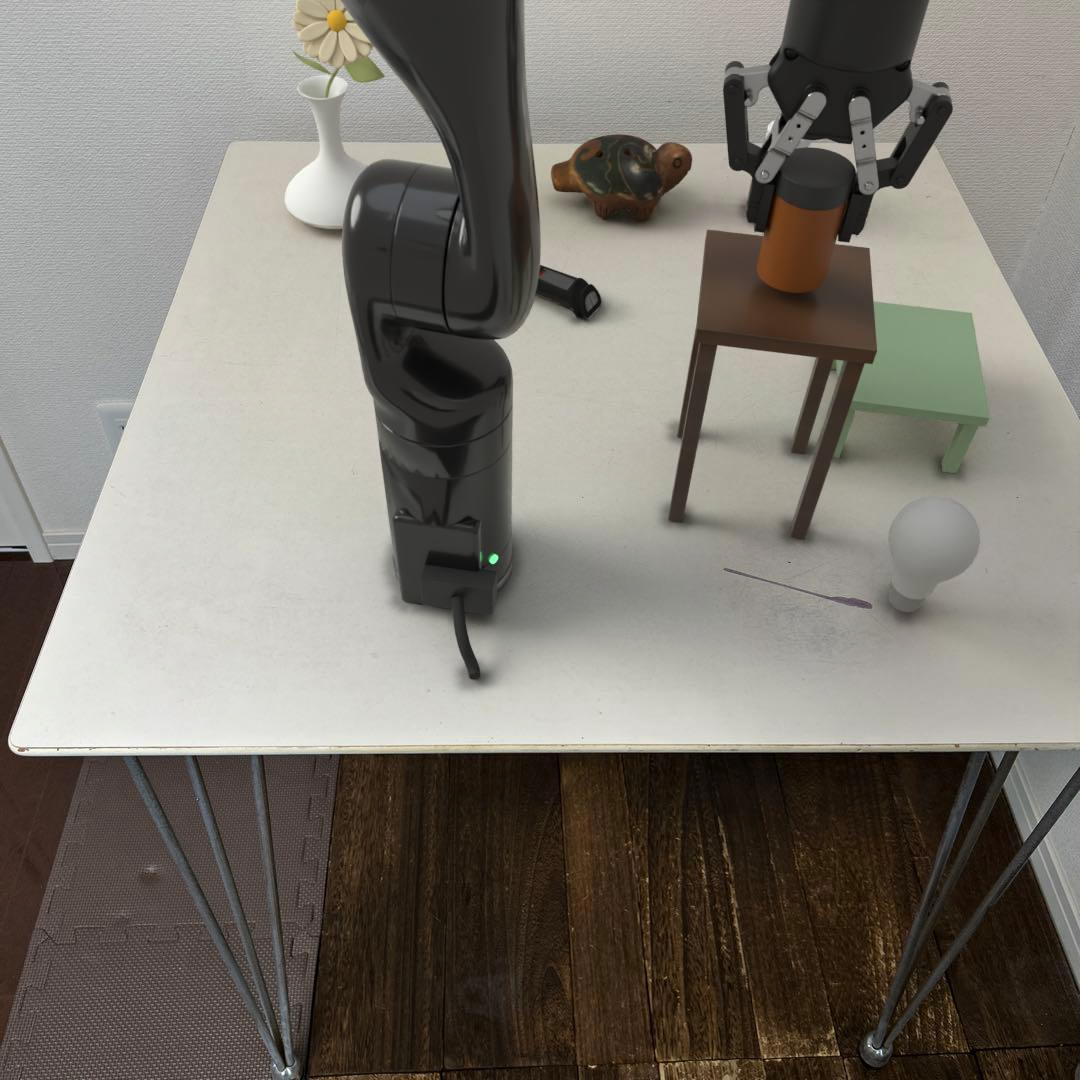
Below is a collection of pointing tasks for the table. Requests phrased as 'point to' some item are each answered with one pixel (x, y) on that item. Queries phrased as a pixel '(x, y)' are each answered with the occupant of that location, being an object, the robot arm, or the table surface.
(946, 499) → the lightbulb
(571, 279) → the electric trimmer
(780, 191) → the spice jar
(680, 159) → the decorative turtle
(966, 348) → the low shelf
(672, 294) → the table surface
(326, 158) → the flower in vase
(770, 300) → the top shelf
